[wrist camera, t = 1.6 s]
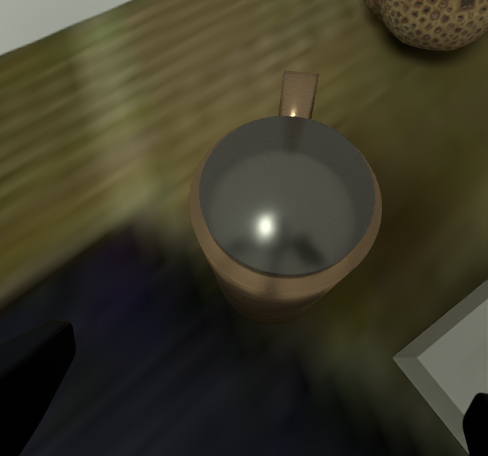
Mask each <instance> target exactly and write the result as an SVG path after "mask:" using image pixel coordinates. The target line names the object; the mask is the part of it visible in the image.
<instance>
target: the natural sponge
mask: <svg viewBox="0 0 488 456" xmlns="http://www.w3.org/2000/svg"><path fill="white" fill-rule="evenodd" d="M364 2H365V4H366V5H367V7H368V8H369V9H370V10H371V11H372V12H373V14H375V15H376V16H377V17H378V18H379V19H380V20H381V21H382V22H383V23H384V25H385V26H386V27H387V28H388V29H389V31H390V32H391V33H392V34H393V35H394V36H395V37H396V38H397V39H398V40H400V41H401V42H402V43H404V44H407V45H409V46H412V47H416V48H421V49H426V50H433V51H451V50H456V49H459V48H462V47H464V46H466V45H468V44H470V43H472V42H474V41H475V40H477V39H478V38H480V37H481V36H483V35H484V34H485V33H486V32H487V31H488V0H364Z"/></svg>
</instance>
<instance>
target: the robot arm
mask: <svg viewBox="0 0 488 456" xmlns="http://www.w3.org/2000/svg"><path fill="white" fill-rule="evenodd" d="M75 352H76V346H75V339H74V332H73V326H72V324H71V323H70V322H68V321H63V320H57V319H53V320H50V321H47V322H45V323H43V324H41V325H39V326H37V327H35V328H33V329H31V330H29V331H27V332H25V333H23V334H21V335H19V336H17V337H15V338H13V339H11V340H8V341H6V342H4V343H2V344H0V456H19V455H20V453H21V452H22V450H23V449H24V447H25V445H26V444H27V442H28V441H29V439H30V438H31V436H32V435H33V433H34V431H35V430H36V428H37V427H38V425H39V423H40V422H41V420H42V418H43V416H44V414H45V412H46V411H47V409H48V407H49V405H50V403H51V401H52V399H53V397H54V395H55V393H56V391H57V389H58V388H59V386H60V384H61V382H62V380H63V378H64V376H65V374H66V372H67V370H68V368H69V366H70V364H71V363H72V361H73V359H74V356H75ZM462 426H463V432H464V436H465V440H466V444H467V447H468V451H469V455H470V456H488V393H482V392H481V393H478V394H476V395H475V396H474V398H473V400H472V402H471V404H470V406H469V407H468V409H467V411H466V413H465V415H464V417H463V421H462Z"/></svg>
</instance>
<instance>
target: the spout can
mask: <svg viewBox="0 0 488 456" xmlns="http://www.w3.org/2000/svg"><path fill="white" fill-rule="evenodd" d="M318 77H319V74H313V73H304V72H294V71H285V70H284V76H283V83H282V91H281V98H280V106H279V113H278V116H274V117H267V118H262V119H259V120H255V121H252V122H250V123H247V124H245V125H243V126H241V127H239V128H237V129H235V130H233V131H231V132H229V133H228V134H227V135H225V136H224V137H222V138H221V139H220V140H219V141H217V142H216V143H215V144H214V145H213V146H212V147H211V148H210V149H209V151H208V152H207V153H206V154H205V156H204V157H203V159H202V160H201V162H200V163H199V165H198V167H197V169H196V171H195V174H194V177H193V180H192V183H191V188H190V194H189V210H190V218H191V222H192V226H193V229H194V232H195V234H196V236H197V239H198V241H199V243H200V245H201V247H202V249H203V252H204V254H205V256H206V258H207V260H208V262H209V265H210V267H211V269H212V271H213V273H214V275H215V277H216V280H217V282H218V284H219V286H220V288H221V290H222V293H223V295H224V297H225V298H226V300H227V302H228V303H229V304H230V305H231V307H232V308H233V309H234V310H235V311H236V312H238V313H239V314H240V315H242V316H243V317H245V318H247V319H249V320H251V321H254V322H257V323H262V324H280V323H285V322H288V321H291V320H293V319H295V318H297V317H298V316H300V315H301V314H303V313H304V312H305V311H306V310H307V309H309V308H310V307H311V306H312V305H313V304H314V303H315V302H317V301H318V300H319V299H320V298H321V297H322V296H323V295H325V294H326V293H327V292H328V291H329V290H330V289H331V288H332V287H334V286H335V285H336V284H337V283H338V282H339V281H340V280H342V279H343V278H344V277H345V276H346V275H347V274H348V273H350V272H351V271H352V270H353V269H354V268H355V267H356V266H357V265H359V263H360V262H361V261H362V260H363V259H364V257H365V256H366V255H367V254H368V252H369V250H370V249H371V247H372V245H373V244H374V241H375V239H376V237H377V234H378V231H379V227H380V223H381V215H382V198H381V193H380V188H379V185H378V182H377V179H376V176H375V174H374V172H373V170H372V168H371V166H370V165H369V163H368V162H367V160H366V159H365V157H364V156H363V155H362V154H361V152H360V151H359V150H358V149H357V148H356V147H355V146H354V145H353V144H352V143H351V142H350V141H349V140H348V139H347V138H345V137H344V136H343V135H342V134H340V133H339V132H337V131H336V130H334V129H332V128H330V127H329V126H327V125H324V124H322V123H319V122H317V121H314V120H311V117H312V112H313V106H314V100H315V94H316V88H317V82H318Z"/></svg>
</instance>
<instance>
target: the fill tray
mask: <svg viewBox="0 0 488 456" xmlns="http://www.w3.org/2000/svg"><path fill="white" fill-rule="evenodd" d="M392 359H393V360H394V361H395V362H396V364H397V365H398V366H399V367H400V369H401V370H402V371H403V372H404V374H405V375H406V376H407V377H408V379H409V380H410V381H411V382H412V384H413V385H414V386H415V387H416V389H417V390H418V391H419V392H420V394H421V395H422V396H423V397H424V399H425V400H426V401H427V402H428V404H429V405H430V406H431V407H432V409H433V410H434V411H435V412H436V414H437V415H438V416H439V418H440V419H441V420H442V421H443V423H444V424H445V425H446V426H447V428H448V429H449V430H450V431H451V433H452V434H453V435H454V436H455V438H456V439H457V440H458V441H459V443H460V444H461V445H462V446H463V448H464V449H465V450H466V451H467V453H468V454H469V451H468V447H467V444H466V440H465V436H464V432H463V426H462V421H463V417H464V415H465V413H466V411H467V409H468V407H469V406H470V404H471V402H472V400H473V398H474V396H475V395H476V394H478V393H481V392H482V393H488V279H487V280H486V281H485V282H484V283H482V284H481V285H480V286H479V287H477V288H476V289H475V290H474V291H473V292H471V293H470V294H469V295H468V296H466V297H465V298H464V299H463V300H462V301H460V302H459V303H458V304H457V305H455V306H454V307H453V308H452V309H451V310H449V311H448V312H447V313H446V314H445V315H443V316H442V317H441V318H440V319H438V320H437V321H436V322H435V323H434V324H432V325H431V326H430V327H429V328H427V329H426V330H425V331H424V332H423V333H421V334H420V335H419V336H418V337H417V338H415V339H414V340H413V341H412V342H410V343H409V344H408V345H407V346H406V347H404V348H403V349H402V350H401V351H399V352H398V353H397V354H396V355H395V356H393V357H392Z"/></svg>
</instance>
